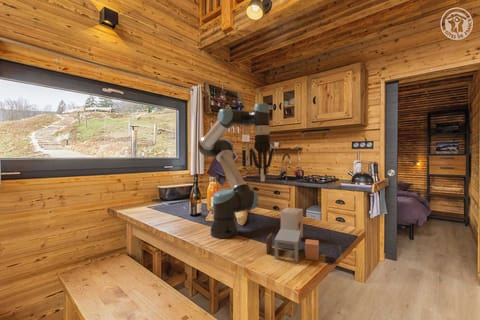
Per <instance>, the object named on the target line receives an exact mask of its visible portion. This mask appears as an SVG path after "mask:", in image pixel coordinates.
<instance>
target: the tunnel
mask: <svg viewBox="0 0 480 320" xmlns="http://www.w3.org/2000/svg"><path fill="white" fill-rule="evenodd" d="M274 248H275V255H274V260H279V256H278V249H287V250H294V251H295V258H294V262H295V263H298V262H299V259H298V251H301V250H302V238H301V231H296V230H286V229H281V228H280V229H279V230H278V232H277V234H276V236H275V238H274Z"/></svg>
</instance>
